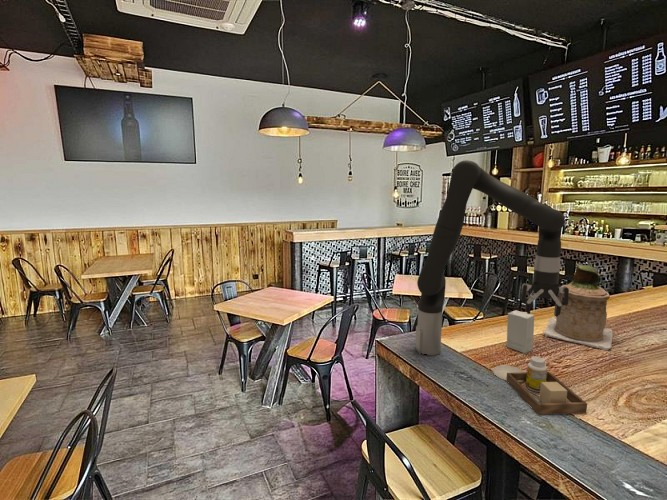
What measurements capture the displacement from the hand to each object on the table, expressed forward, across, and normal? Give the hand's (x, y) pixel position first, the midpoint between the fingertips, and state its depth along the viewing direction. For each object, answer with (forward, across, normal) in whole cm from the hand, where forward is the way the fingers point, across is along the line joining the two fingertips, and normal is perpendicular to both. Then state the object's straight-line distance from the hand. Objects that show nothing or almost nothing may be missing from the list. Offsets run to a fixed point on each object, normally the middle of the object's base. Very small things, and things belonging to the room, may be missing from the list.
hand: (542, 314), depth 130 cm
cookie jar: (+22, +24, +42) cm, 53 cm away
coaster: (+22, -9, -4) cm, 24 cm away
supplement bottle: (+22, -2, -12) cm, 25 cm away
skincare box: (+22, -3, +19) cm, 29 cm away
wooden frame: (+22, -1, -16) cm, 27 cm away
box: (+22, +1, -20) cm, 30 cm away
